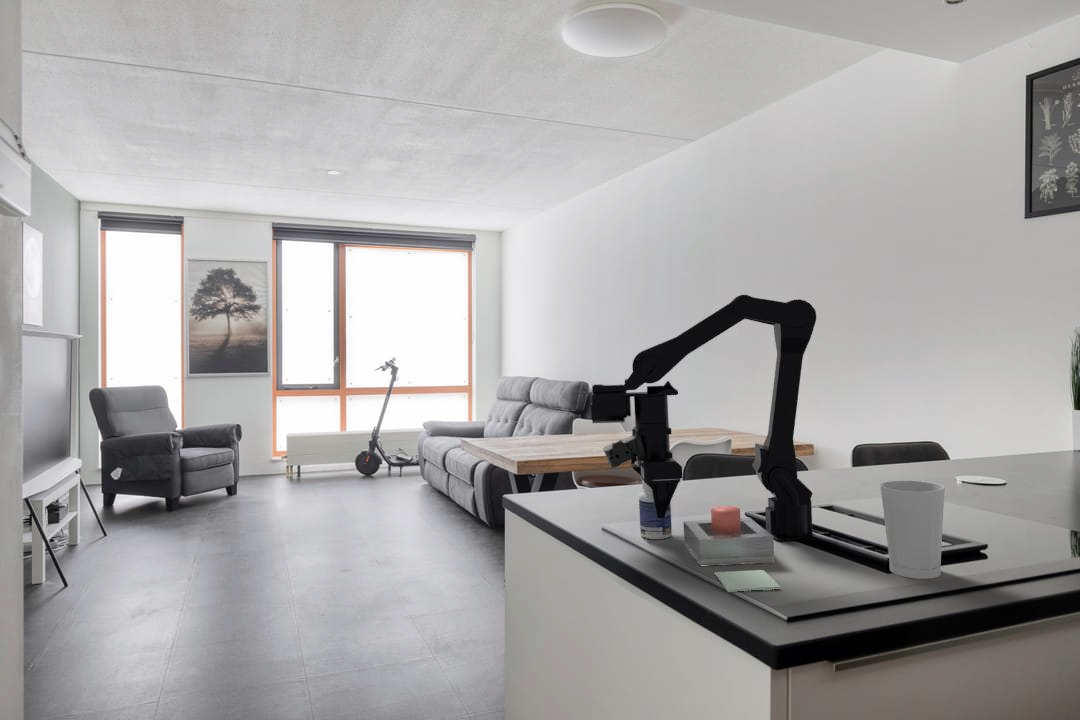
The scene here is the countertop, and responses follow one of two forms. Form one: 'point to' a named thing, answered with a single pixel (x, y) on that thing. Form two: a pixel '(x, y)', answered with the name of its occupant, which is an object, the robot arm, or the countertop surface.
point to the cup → (913, 527)
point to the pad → (746, 580)
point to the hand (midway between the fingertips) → (655, 511)
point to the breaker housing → (728, 543)
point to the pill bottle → (653, 517)
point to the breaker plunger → (725, 520)
